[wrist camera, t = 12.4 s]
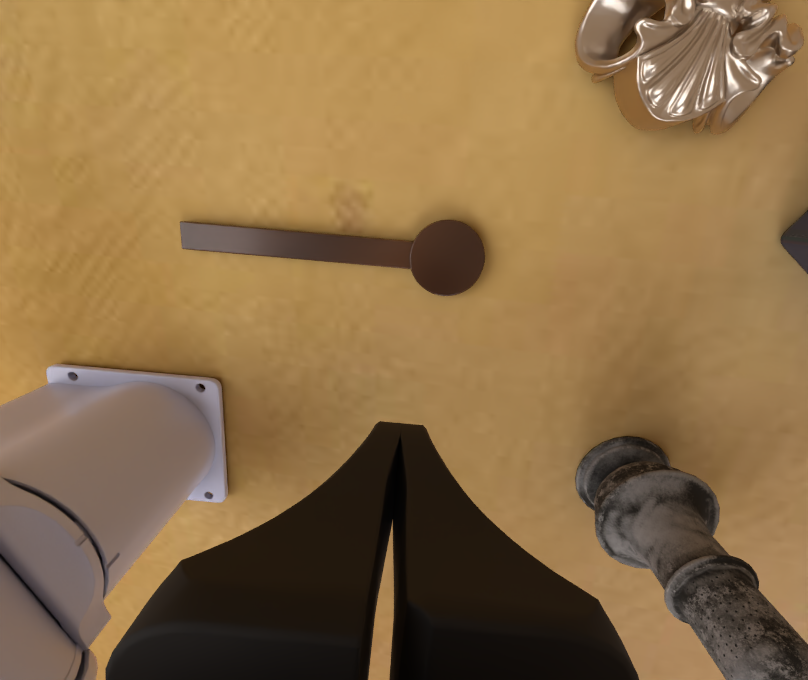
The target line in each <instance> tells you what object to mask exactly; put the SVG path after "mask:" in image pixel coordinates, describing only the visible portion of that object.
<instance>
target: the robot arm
mask: <svg viewBox="0 0 808 680" xmlns="http://www.w3.org/2000/svg"><path fill="white" fill-rule="evenodd" d="M74 373H76V374H77V376H78V377H76V376H75V374H74ZM46 374H47V379H48V384H47V385H45V386H43V387H40V388H38V389H36V390H34V391H32V392H29V393H27V394H25V395H23V396H21V397H18V398H16V399H14V400H12V401H10V402H7V403H5V404H3V405H1V406H0V680H96V676H97V669H98V666H97V659H96V657H95V655H94V654H93V652H92V651H91V650H90V649H88V648H89V646H90V645H91V644H92V642H93V641H94V640H95V638H96V637H97V636H98V635H99V633H100V632H101V631H102V629H103V628H104V627H105V625H106V624H107V623H108V621H109V620H110V619H111V615H110V614H109V612H108V611H107V609H106V607H105V605H104V602H103V601H104V599H105V598H106V597H107V596H108V595H109V593H110V592H111V591H112V590H113V588H114V587H115V586H116V585H117V584H118V582H119V581H120V580H121V579H122V577H123V576H124V575H125V574H126V573H127V571H128V570H129V569H130V568H131V566H132V565H133V564H134V563H135V562H136V560H137V559H138V558H139V557H140V555H141V554H142V553H143V552H144V551H145V549H146V548H147V547H148V546H149V544H150V543H151V542H152V541H153V539H154V538H155V537H156V536H157V535H158V533H159V532H160V531H161V530H162V528H163V527H164V526H165V525H166V524H167V522H168V521H169V520H170V519H171V517H172V516H173V515H174V514H175V513H176V511H177V510H178V509H179V508H180V506H181V505H182V504H183V503H184V502H185V500H196V501H207V502H217V503H219V502H223V501H224V500H225V499H226V497H227V496H228V483H227V466H226V450H225V433H224V417H223V400H222V386H221V383H220V382H219V381H218V380H217V379H215V378H208V377H197V376H186V375H175V374H165V373H154V372H143V371H132V370H121V369H110V368H99V367H88V366H77V365H66V364H54V365H52V366H50V367H48V368H47V370H46ZM199 384H203V385H204V386H205V389H202V388H201V387H200V385H199ZM208 492H211V493H212V494H213V495H212V494H210V493H208ZM392 520H393V559H394V622H393V637H392V652H391V666H390V680H639V678H638V674H637V672H636V670H635V668H634V666H633V664H632V662H631V660H630V657H629V655H628V653H627V651H626V649H625V647H624V645H623V643H622V641H621V639H620V637H619V635H618V633H617V631H616V630H615V628H614V626H613V624H612V623H611V621H610V619H609V618H608V616H607V614H606V613H605V611H604V609H603V608H602V606H601V604H600V602H599V600H598V599H596V598H595V597H593V596H591V595H590V594H588V593H587V592H585V591H584V590H582V589H580V588H579V587H577V586H576V585H574V584H573V583H571V582H569V581H568V580H566V579H565V578H563V577H562V576H560V575H558V574H557V573H555V572H554V571H552V570H551V569H549V568H548V567H547V566H545V565H544V564H543V563H541V562H540V561H539V560H537V559H536V558H534V557H533V556H532V555H530V554H529V553H528V552H526V551H525V550H524V549H523V548H521V547H520V546H519V545H518V544H516V543H515V542H514V541H513V540H512V539H510V538H509V537H508V536H507V535H506V534H505V533H504V532H503V531H501V530H500V529H499V528H498V527H497V526H496V525H495V524H494V523H493V522H492V521H491V520H490V519H489V518H487V517H486V516H485V515H484V514H483V513H482V511H481V510H480V509H479V508H478V507H477V506H476V505H475V504H474V503H473V502H472V500H471V499H470V498H469V497H468V496H467V494H466V493H465V492H464V491H463V489H462V488H461V487H460V485H459V484H458V483H457V481H456V480H455V479H454V477H453V476H452V474H451V473H450V471H449V470H448V468H447V467H446V465H445V463H444V462H443V460H442V459H441V457H440V455H439V454H438V452H437V450H436V448H435V447H434V445H433V443H432V441H431V439H430V437H429V434H428V432H427V429H426V428H425V427H424V426H423V425H413V424H403V423H392V422H381V421H380V422H378V423H377V424H376V425H375V426H374V428H373V430H372V431H371V433H370V434H369V435H368V437H367V438H366V439H365V441H364V442H363V443H362V444H361V446H360V447H359V448H358V449H357V450H356V451H355V452H354V454H353V455H352V456H351V457H350V458H349V459H348V460H347V461H346V462H345V463H344V464H343V465H342V466H341V467H340V468H339V469H338V470H337V471H336V472H335V473H334V474H333V475H332V476H331V477H330V478H329V479H328V480H326V481H325V482H324V483H323V484H322V485H321V486H319V487H318V488H317V489H316V490H314V491H313V492H312V493H311V494H309V495H308V496H307V497H305V498H304V499H303V500H301V501H300V502H298V503H297V504H295V505H294V506H292V507H291V508H289V509H287V510H286V511H284V512H283V513H281V514H280V515H278V516H276V517H275V518H273V519H271V520H269V521H268V522H266V523H264V524H262V525H260V526H258V527H256V528H254V529H252V530H251V531H249V532H247V533H245V534H243V535H241V536H238V537H236V538H234V539H232V540H230V541H228V542H225V543H223V544H220V545H218V546H216V547H213V548H211V549H208V550H206V551H204V552H201V553H199V554H196V555H194V556H192V557H189V558H186V559H184V560H181V561H180V562H179V564H178V565H177V566H176V568H175V569H174V570H173V571H172V572H171V574H170V575H169V576H168V577H167V578H166V579H165V580H164V582H163V583H162V584H161V585H160V586H159V588H158V589H157V590H156V592H155V593H154V594H153V595H152V597H151V598H150V599H149V601H148V602H147V604H146V605H145V606H144V608H143V609H142V611H141V612H140V614H139V615H138V616H137V618H136V619H135V621H134V622H133V624H132V625H131V626H130V628H129V629H128V631H127V632H126V634H125V635H124V636H123V638H122V639H121V641H120V642H119V644H118V645H117V646H116V648H115V649H114V651H113V652H112V655H111V657H110V659H109V662H108V664H107V667H106V680H368V675H369V666H370V656H371V647H372V638H373V628H374V619H375V611H376V605H377V598H378V593H379V588H380V583H381V577H382V572H383V567H384V562H385V557H386V552H387V546H388V541H389V536H390V531H391V526H392Z"/></svg>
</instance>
